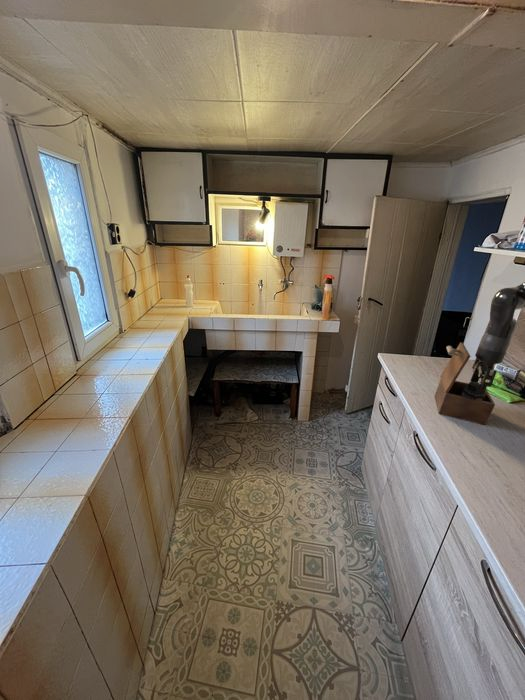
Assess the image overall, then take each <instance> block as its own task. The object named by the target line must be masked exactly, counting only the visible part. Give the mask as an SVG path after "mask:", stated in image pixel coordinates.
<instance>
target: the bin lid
mask: <svg viewBox="0 0 525 700" xmlns="http://www.w3.org/2000/svg"><path fill="white" fill-rule="evenodd" d="M445 347H446V351H447V354H448V355H449V356H451V358H450V359H449V361H448V362H447V364H446V366H445V367H444V370H443V371H442V372H441V374H440V379H441V380H442V383H443V387H444V390H445V392H446V393H448V392H449V390H450V388H451V387H452V385H453V384H454V382H455V381H457V379H458V377H459V375H460V374H461V373H462V371H463V369H464V367H465V366H466V365H467V363H468V361H469V360H470V358H471V354H470V353H469V351H468V349H467V348H466V346H465V344H464V342H462V341H461V342H459V344H458V345H457V347H456V348H453V346H451V345H447V346H445Z"/></svg>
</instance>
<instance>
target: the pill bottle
mask: <svg viewBox="0 0 525 700" xmlns="http://www.w3.org/2000/svg"><path fill="white" fill-rule="evenodd" d="M468 383H469V384H468V387H466V388H464V390H463V393H462V395H461V396H463V397H467V398H472V399H477V400H481V401H482V399H483V397H484V394H483V395H481V394H477V393H476V390H477V387H478V385H479V381H478V382H471V381H469V382H468Z"/></svg>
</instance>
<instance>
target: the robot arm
mask: <svg viewBox="0 0 525 700" xmlns="http://www.w3.org/2000/svg"><path fill="white" fill-rule="evenodd" d="M521 309H525V281H524V282H523V283H521V284H519V285H516V286H513V287H504V288H501V289H499V290H498V291H497V292H496V293H494V295H493V297H492V299H491V303H490V309H489V310H490V311H489V321H488V323H487V325H486V328H485V331H484V333H483V335H482V336H481V339H480V341H479V344H478V347H477V349H476V352H475V359H474V362H473V365H472V366H471V369H472V374H471V378H470V379H469V380H470V381H469V382H478V383H479V385H478V387H477V390H476V393H477V394H481V395H483V394H484V392H485V390H486V389H487V387H489V388H491V387H492V385H493V383H494V380H495V377H496V375H497V372H498V371H497V370H496V369H495V365H496V364H497V365H498V364H501V363H503V361H504V358H505V357H506V355H507V352H508V349H509V347H510V344H511V341H512V337H513V335H514V333H515V330H516V328H517V324H518V322H517V319H515V318H514V316H515V312H516V310H521Z"/></svg>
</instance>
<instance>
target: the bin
mask: <svg viewBox="0 0 525 700" xmlns="http://www.w3.org/2000/svg"><path fill="white" fill-rule="evenodd" d="M468 384H469V382H463V381H459V380H455V382H454V384H453V385H452V387H451V388H450V390H449V392H448V393H446V392H445V390H444V387H443V383H442V380H441V378H440V380H439V382H438V385H437V388H436V391H435V393H434V401H435V404H436V410H437V413H438V415H441V416H446V417H450V418H455V419H459V420H462V421H467V422H471V423H474V424H475V423H476V424H479V425H484V426H486V425H487V423H488V421H489V418H490V416H491V415H492V412H493V410H494V408H495V406H496V404H495V402H494V400H493V398H492V396H491V394H490V393H489V390H488V389H487V388H486V390H485V392H484V397H483V399H482V401H481V400H477V399H472V398H467V397H463V396H461V395H462V393H463V390H464V388H466V387H468Z"/></svg>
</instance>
